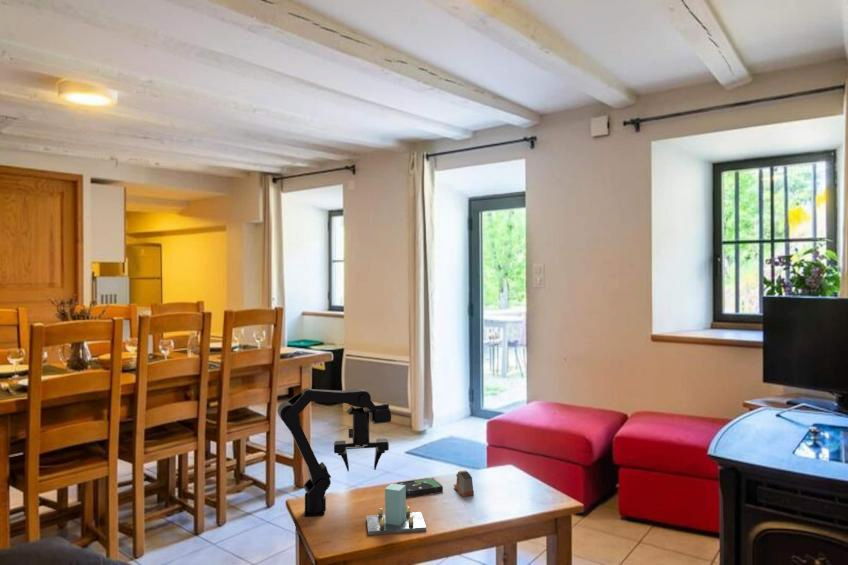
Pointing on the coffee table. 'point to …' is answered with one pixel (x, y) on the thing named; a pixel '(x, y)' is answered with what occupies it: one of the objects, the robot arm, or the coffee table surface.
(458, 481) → the electronic device
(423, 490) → the disk drive
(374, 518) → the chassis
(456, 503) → the coffee table surface
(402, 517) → the teal block
